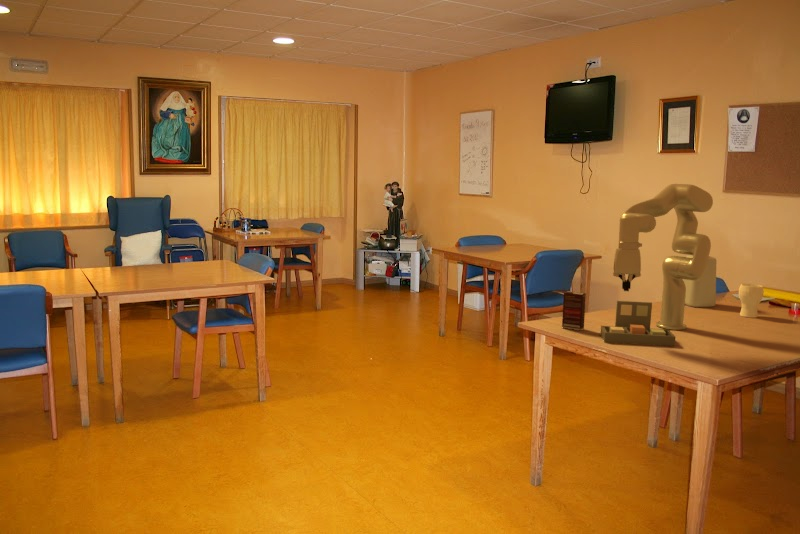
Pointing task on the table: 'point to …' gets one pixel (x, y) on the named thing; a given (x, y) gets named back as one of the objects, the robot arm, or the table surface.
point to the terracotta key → (637, 329)
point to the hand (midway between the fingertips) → (626, 290)
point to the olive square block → (657, 332)
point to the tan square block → (616, 330)
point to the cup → (750, 299)
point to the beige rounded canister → (702, 287)
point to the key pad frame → (637, 337)
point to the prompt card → (633, 313)
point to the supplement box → (573, 310)
